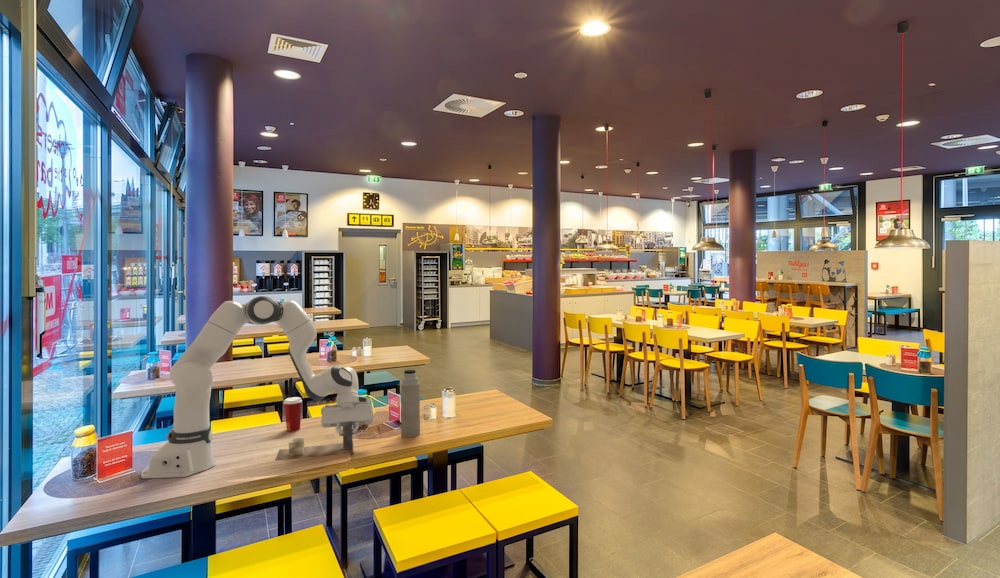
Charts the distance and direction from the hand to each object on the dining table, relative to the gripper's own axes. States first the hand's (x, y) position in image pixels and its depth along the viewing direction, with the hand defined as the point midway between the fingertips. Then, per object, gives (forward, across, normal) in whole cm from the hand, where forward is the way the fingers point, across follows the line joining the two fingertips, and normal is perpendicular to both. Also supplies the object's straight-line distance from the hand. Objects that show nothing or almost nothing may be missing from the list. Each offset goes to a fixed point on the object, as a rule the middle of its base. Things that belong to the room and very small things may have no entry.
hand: (347, 434), depth 198 cm
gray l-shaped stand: (+4, -12, +5) cm, 14 cm away
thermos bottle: (-4, +26, +14) cm, 30 cm away
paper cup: (-20, -24, +29) cm, 43 cm away
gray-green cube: (+4, -19, +4) cm, 20 cm away
